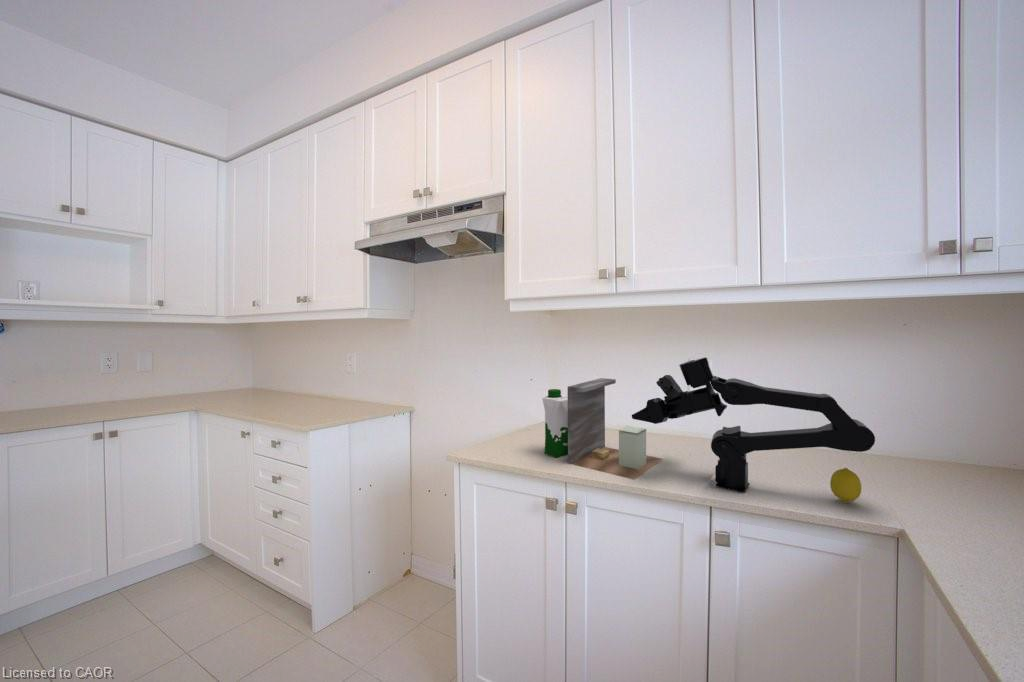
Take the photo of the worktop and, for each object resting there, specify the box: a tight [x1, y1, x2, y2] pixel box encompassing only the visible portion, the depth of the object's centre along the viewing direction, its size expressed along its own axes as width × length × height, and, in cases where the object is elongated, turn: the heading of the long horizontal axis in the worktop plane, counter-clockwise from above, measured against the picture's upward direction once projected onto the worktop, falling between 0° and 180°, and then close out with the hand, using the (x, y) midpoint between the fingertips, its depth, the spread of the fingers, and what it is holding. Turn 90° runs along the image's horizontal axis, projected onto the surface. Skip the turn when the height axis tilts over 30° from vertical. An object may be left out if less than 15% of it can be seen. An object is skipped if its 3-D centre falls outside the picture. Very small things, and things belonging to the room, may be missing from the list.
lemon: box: [829, 467, 862, 504], centre depth 95 cm, size 6×6×8 cm
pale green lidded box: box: [618, 425, 647, 470], centre depth 119 cm, size 6×6×10 cm
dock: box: [567, 377, 663, 480], centre depth 122 cm, size 20×20×23 cm
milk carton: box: [542, 388, 568, 459], centre depth 132 cm, size 9×9×20 cm
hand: (639, 415), depth 119 cm, fingers open, 9 cm apart
